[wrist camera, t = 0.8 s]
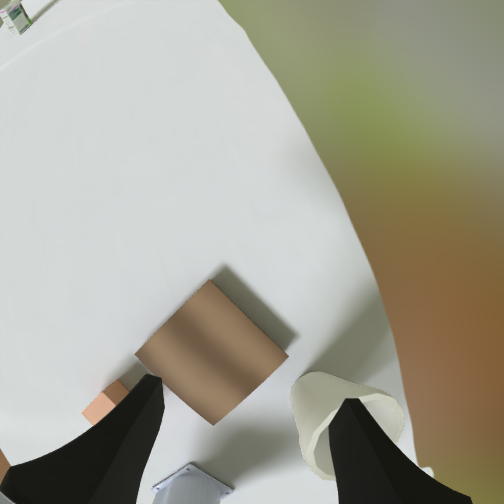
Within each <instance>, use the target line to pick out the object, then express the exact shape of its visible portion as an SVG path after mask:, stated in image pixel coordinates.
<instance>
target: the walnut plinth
mask: <svg viewBox="0 0 504 504" xmlns="http://www.w3.org/2000/svg"><path fill="white" fill-rule="evenodd" d="M135 355H136V356H137V357H138V358H139V360H140V361H141V362H142V363H143V364H144V365H145V366H146V367H147V368H148V369H149V370H150V371H151V372H152V373H153V374H154V375H155V376H157V377H161V378H162V382H163V383H164V384H165V385H166V386H167V387H168V388H169V389H170V390H171V391H172V392H173V393H175V394H176V395H177V396H178V397H179V398H180V399H181V400H182V401H184V402H185V403H186V404H187V405H188V406H189V407H191V408H192V409H193V410H194V411H195V412H197V413H198V414H199V415H200V416H201V417H203V418H204V419H205V420H206V421H208V422H209V423H210V424H212V425H213V426H214V425H215V424H216V423H217V422H219V421H220V420H221V419H222V418H223V417H224V416H226V415H227V414H228V413H229V412H230V411H232V410H233V409H234V408H235V407H236V406H237V405H238V404H240V403H241V402H242V401H243V400H244V399H245V398H246V397H247V396H248V395H250V394H251V393H252V392H253V391H254V390H255V389H256V388H257V387H258V386H259V385H260V384H261V383H263V382H264V381H265V380H266V379H267V378H268V377H269V376H270V375H271V374H272V373H273V372H274V371H275V370H276V369H277V368H278V367H279V366H280V365H281V364H282V363H283V362H284V361H285V360H286V359H287V358H288V357H289V356H288V355H287V354H286V353H285V352H284V351H283V350H282V349H281V348H280V347H279V346H278V345H277V344H275V343H274V342H273V341H272V340H271V339H270V338H269V337H268V336H267V335H266V334H265V333H264V332H263V331H262V330H261V329H260V328H258V327H257V326H256V325H255V324H254V323H253V322H252V321H251V320H250V319H249V318H248V317H247V316H246V315H245V314H244V313H243V312H242V311H241V310H240V309H239V308H238V307H237V306H236V305H235V304H234V303H233V302H232V301H231V300H230V299H229V298H228V297H227V296H226V295H225V294H224V293H223V292H222V291H221V290H220V289H219V288H218V287H217V286H216V285H215V284H214V283H213V282H212V281H211V280H208V281H207V282H206V283H205V284H204V285H203V286H202V287H201V288H200V289H199V290H198V291H197V292H196V293H195V294H194V295H193V296H192V297H191V298H190V299H189V300H188V301H187V302H186V303H185V304H184V305H183V306H182V307H181V308H180V309H179V310H178V311H177V312H176V313H175V314H174V315H173V316H172V317H171V318H170V319H169V320H168V321H167V322H166V323H165V324H164V325H163V326H162V327H161V328H160V329H159V330H158V331H157V332H156V333H155V334H154V335H153V336H152V337H151V338H150V339H149V340H148V341H147V342H146V343H145V344H144V345H143V346H142V347H141V348H140V349H139V350H138V351H137V352H136V353H135Z"/></svg>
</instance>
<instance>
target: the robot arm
mask: <svg viewBox="0 0 504 504" xmlns="http://www.w3.org/2000/svg"><path fill="white" fill-rule="evenodd" d="M164 409H165V405H164V396H163V386H162V378H161V377H157V376H153V375H149V374H146V375H144V376H143V378H142V379H141V380H140V381H139V382H138V383H137V385H136V386H135V387H134V388H133V389H132V390H131V391H130V392H129V393H128V394H127V395H126V396H125V398H124V399H123V400H122V401H120V402H119V403H118V404H117V405H116V406H115V407H114V408H113V409H112V410H111V411H110V412H109V413H108V414H107V415H106V416H104V417H103V418H102V419H101V420H100V421H99V422H97V423H96V424H95V425H94V426H93V427H91V428H90V429H89V430H87V431H86V432H85V433H83V434H82V435H80V436H79V437H77V438H76V439H74V440H73V441H71V442H69V443H68V444H66V445H64V446H62V447H61V448H59V449H57V450H55V451H53V452H51V453H48V454H46V455H44V456H42V457H39V458H37V459H34V460H31V461H28V462H25V463H22V464H18V465H15V466H11V467H10V468H9V470H8V471H7V473H6V475H5V476H4V479H3V481H2V483H1V485H0V492H1V493H0V504H136V501H137V495H138V491H139V487H140V482H141V478H142V475H143V472H144V469H145V466H146V463H147V461H148V458H149V456H150V453H151V450H152V448H153V445H154V442H155V440H156V437H157V435H158V432H159V429H160V425H161V422H162V418H163V413H164ZM328 429H329V446H330V452H331V457H332V462H333V467H334V472H335V477H336V482H337V488H338V497H339V504H473V503H472V500H471V498H470V497H469V496H466V495H464V494H462V493H459V492H457V491H454V490H452V489H450V488H449V487H447V486H445V485H443V484H441V483H440V482H438V481H436V480H435V479H433V478H432V477H431V476H429V475H428V474H426V473H425V472H424V471H422V470H421V469H420V468H419V467H418V466H416V465H415V464H414V463H413V462H412V461H411V460H410V459H409V458H408V457H407V456H406V455H405V454H404V453H403V452H402V451H401V450H400V449H399V448H398V447H397V446H396V445H395V444H394V443H393V441H392V440H391V439H390V438H389V437H388V436H387V434H386V433H385V432H384V431H383V429H382V428H381V427H380V426H379V424H378V423H377V422H376V420H375V419H374V418H373V416H372V415H371V414H370V412H369V411H368V410H367V408H366V407H365V406H364V404H363V403H362V402H361V401H360V399H359V398H345V400H344V401H343V403H342V405H341V406H340V408H339V410H338V411H337V413H336V414H335V416H334V418H333V419H332V421H331V422H330V424H329V425H328ZM187 468H189V469H187ZM151 491H152V492H153V493H155V494H156V495H155V498H154V501H153V504H220V500H222V499H224V498H225V497H227V496H229V495H230V494H232V493H233V489H231V488H230V487H228V486H226V485H224V484H223V483H221V482H219V481H218V480H216V479H214V478H213V477H211V476H209V475H208V474H206V473H205V472H203V471H202V470H200V469H199V468H197V467H196V466H194V465H192V464H188V465H187V466H185V467H184V468H182V469H181V470H179V471H178V472H176V473H175V474H173V475H172V476H170V477H169V478H167V479H166V480H164V481H162V482H161V483H159V484H158V485H156V486H154V487H153V488H151ZM226 492H228V493H226Z"/></svg>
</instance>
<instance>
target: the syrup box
mask: <svg viewBox="0 0 504 504" xmlns="http://www.w3.org/2000/svg"><path fill="white" fill-rule="evenodd" d="M0 16H1V18H2V19H3V21H4V22H5V24H6V26H7V27H8V29H9V30H10V32H11V33H12V35H13V36H20V35H21V34H22V33H23V32H24V31H25V30H26V29H27V28H28V27H29V26H30V25H32V22H31V21H30V19H29V17H28V15H27V14H26V12H25V10H24V8H23V6H22V4H21V2H20V1H19V0H11V1H10V2H9V3H8V4H7V5H6V6H5V7H3V8H2V9H1V10H0Z"/></svg>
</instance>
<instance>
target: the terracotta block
mask: <svg viewBox="0 0 504 504" xmlns="http://www.w3.org/2000/svg"><path fill="white" fill-rule="evenodd" d="M129 392H130V391H129V390H128V389H127V388H126V387H125V386H124V385H123V384H122V383H121V382H120V381H119V380H118V379H117V380H116V381H115V382H113V383H112V384H111V385H110V386H109V387H107V388H106V389H105V390H104V391H102V392H101V393H100V394H99V395H98V396H97V397H96V398H95V399H94V400H93V401H92V402H91V403H90V405H89V406H88V407H87V408H86V409H85V410H84V411H83V412H82V414H83V415H84V416H85V418H86V419H87V420H88V421H89V422H90V423H91V424H92V425H93V426H94V425H95V424H96V423H97V422H99V421H100V420H101V419H102V418H103V417H104V416H106V415H107V414H108V413H109V412H110V411H111V410H112V409H113V408H114V407H115V406H116V405H117V404H118V403H119V402H120V401H122V400H123V399H124V398H125V396H126V395H127V394H128V393H129Z"/></svg>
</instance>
